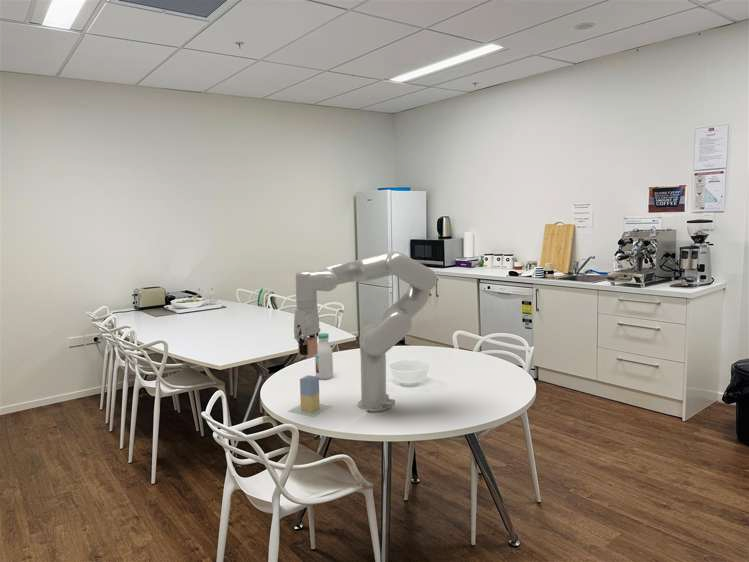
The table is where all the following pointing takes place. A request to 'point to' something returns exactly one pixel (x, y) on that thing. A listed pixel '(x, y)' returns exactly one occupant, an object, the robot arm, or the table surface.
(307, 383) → the brick
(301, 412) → the build plate
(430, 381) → the table surface
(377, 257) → the robot arm
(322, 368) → the milk bottle
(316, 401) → the brick base
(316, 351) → the brick
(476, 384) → the table surface
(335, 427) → the table surface
